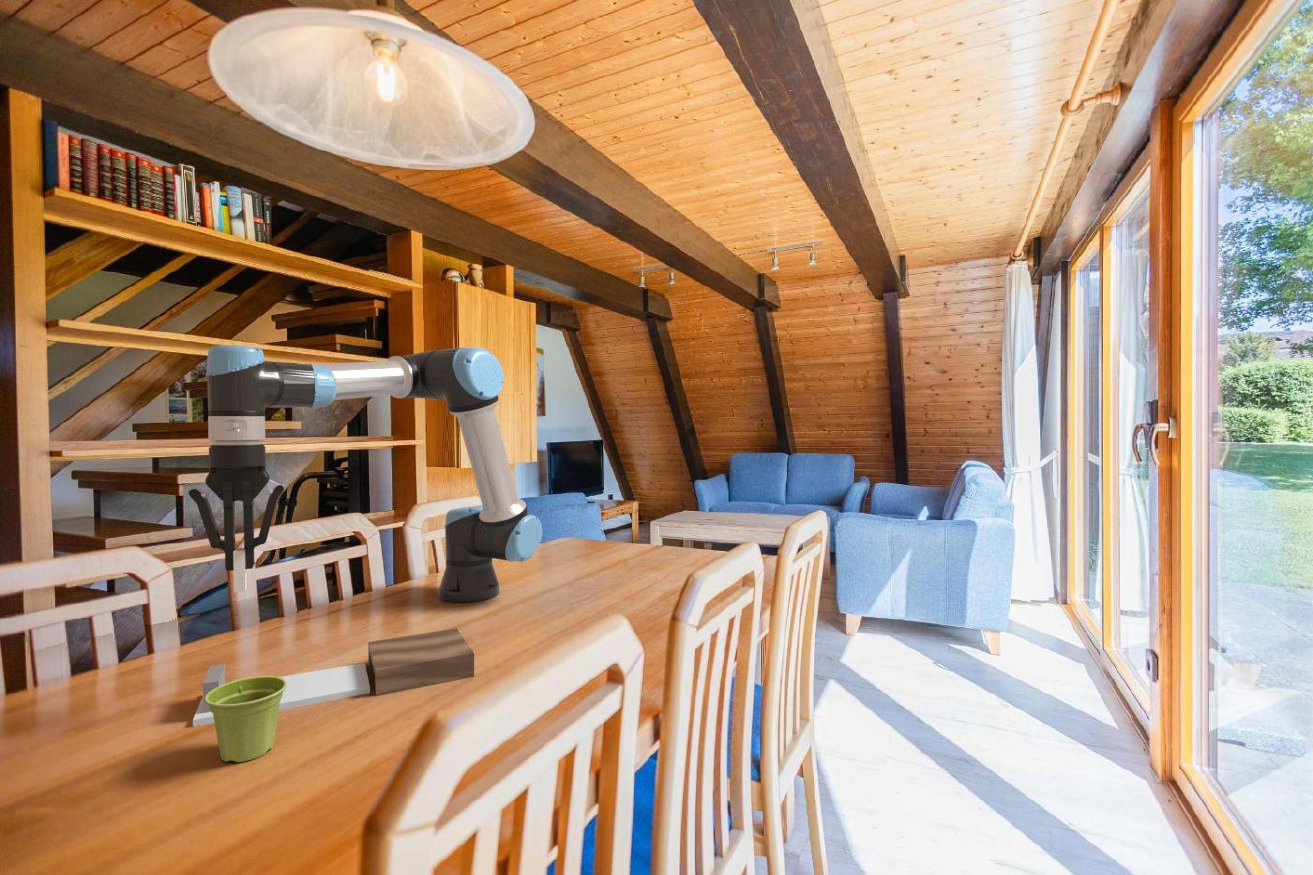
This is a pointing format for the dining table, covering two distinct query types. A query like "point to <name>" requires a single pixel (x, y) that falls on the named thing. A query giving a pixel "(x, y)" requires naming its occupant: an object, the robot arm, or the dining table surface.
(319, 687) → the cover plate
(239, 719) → the plant pot
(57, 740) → the dining table surface
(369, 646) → the walnut case
